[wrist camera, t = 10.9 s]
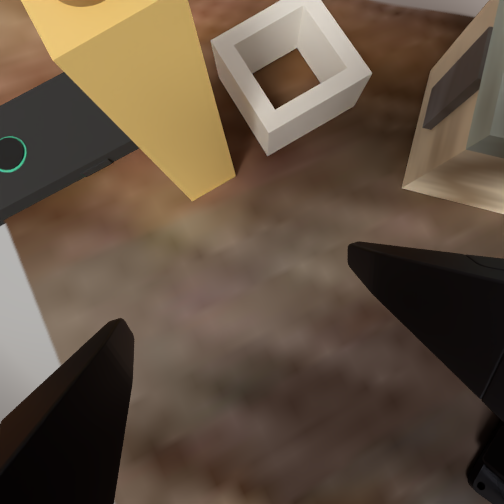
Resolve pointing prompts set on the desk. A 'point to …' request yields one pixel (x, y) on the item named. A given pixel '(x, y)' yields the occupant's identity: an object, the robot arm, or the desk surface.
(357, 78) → the white square frame
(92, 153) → the smart home device
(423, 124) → the toolbox
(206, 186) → the yellow block with peg
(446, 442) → the desk surface
